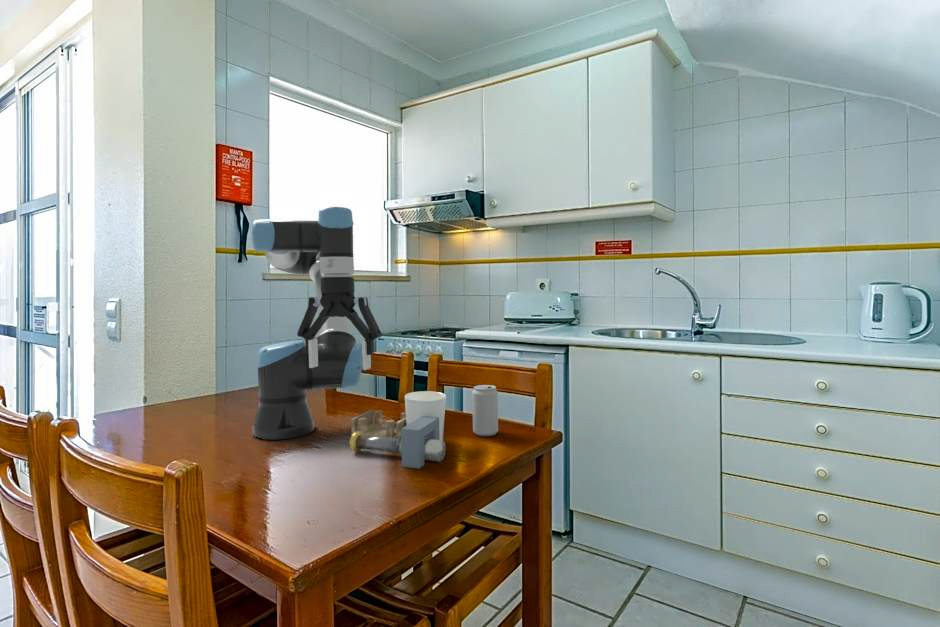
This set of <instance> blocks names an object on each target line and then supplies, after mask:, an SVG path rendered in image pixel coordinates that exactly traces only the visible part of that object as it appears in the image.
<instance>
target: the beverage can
mask: <svg viewBox="0 0 940 627" xmlns="http://www.w3.org/2000/svg"><path fill="white" fill-rule="evenodd" d="M471 393H472V394H471V402H472V432H473V433H475V435H477V436H479V437H490V436H491V437H492V436H495V435H496V434H497V433H498V432H499V407H498V406H499V400H498V399H499V398H498V390H497V386H495V385H490V384H479V385H475V386H473V390H472V392H471Z"/></svg>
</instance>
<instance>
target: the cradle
mask: <svg viewBox="0 0 940 627" xmlns="http://www.w3.org/2000/svg"><path fill="white" fill-rule="evenodd" d="M350 422H351V435H352V434H353V432H355V431H361V432H362V433H363V434H364V435H366V436H377V437H387V438H398V439H401V429H402V428H403V427H405V426H406V411H405V412H401V413H400V420H398V421H396V420H393V419H388V420H387V421H385V429H383V428H384V426H383V410H375V411H374V410H373V409H369V410H367V411H365V412H363V413H361V414H358V415H356V416H354V417H351V420H350ZM348 443H349V445H350V438H349V440H348Z"/></svg>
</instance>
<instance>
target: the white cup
mask: <svg viewBox="0 0 940 627" xmlns="http://www.w3.org/2000/svg"><path fill="white" fill-rule="evenodd" d="M446 400H447V395H446V394H445V393H443V392H438V391H431V390H430V391H429V390H424V391H421V390H420V391H413V392H408V393H406V394H405V395H404V405H405V406H404V407H405V413H406V426H407V425H409V424H410V423H412V422H414V421H415V420H417V419H419V418H420V417H422V416H428V417H439V440H443V441H444V428H445V412H446Z"/></svg>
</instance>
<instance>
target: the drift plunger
mask: <svg viewBox="0 0 940 627" xmlns="http://www.w3.org/2000/svg"><path fill="white" fill-rule="evenodd" d="M349 439H350V444H349V448H350V451H351V452H354V453H359V452H361V451H362V450H368V451H369V450H371V451H379V452H387V453H389V452H390V453H399V446H400V442H401V439H398V438H387V437H377V436H366V435H364V434H363V433H362V432H361V431H355V432H353V434H352V433H351V436H350V437H349Z"/></svg>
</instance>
